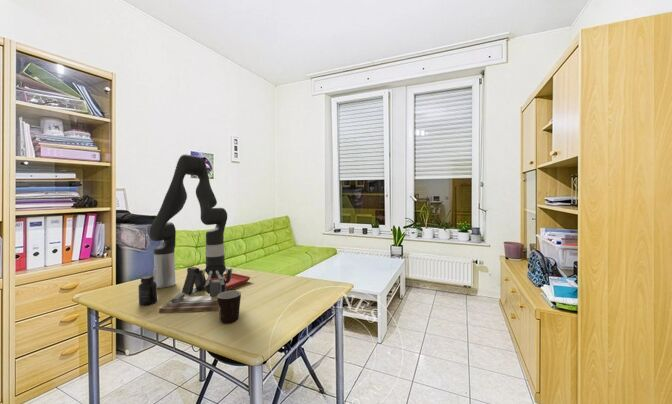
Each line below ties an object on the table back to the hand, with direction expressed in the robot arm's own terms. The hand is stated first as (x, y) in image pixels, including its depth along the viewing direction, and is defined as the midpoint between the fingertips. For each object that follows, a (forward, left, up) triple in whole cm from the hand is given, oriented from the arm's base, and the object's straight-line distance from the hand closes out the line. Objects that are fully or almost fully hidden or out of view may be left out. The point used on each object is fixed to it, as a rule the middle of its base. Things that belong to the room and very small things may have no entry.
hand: (216, 292), depth 124 cm
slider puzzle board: (-7, +1, -5) cm, 9 cm away
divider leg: (0, 0, -3) cm, 3 cm away
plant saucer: (-4, +28, -6) cm, 29 cm away
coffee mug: (+10, -17, -6) cm, 21 cm away
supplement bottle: (-31, +5, -6) cm, 32 cm away
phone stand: (-17, +19, -6) cm, 26 cm away
